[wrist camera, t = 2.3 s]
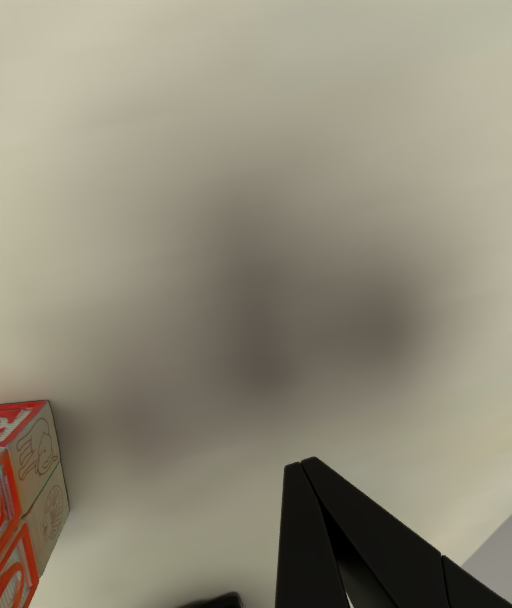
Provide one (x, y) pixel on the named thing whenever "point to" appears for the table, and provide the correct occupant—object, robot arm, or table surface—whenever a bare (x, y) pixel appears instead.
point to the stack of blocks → (28, 498)
